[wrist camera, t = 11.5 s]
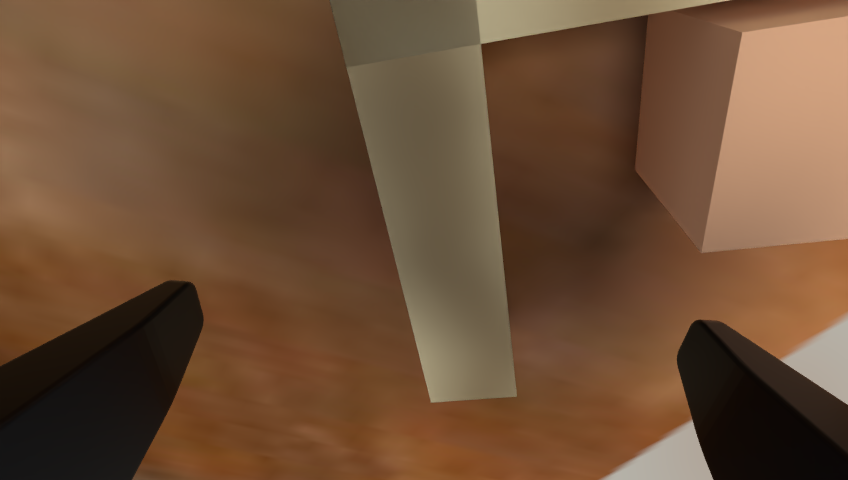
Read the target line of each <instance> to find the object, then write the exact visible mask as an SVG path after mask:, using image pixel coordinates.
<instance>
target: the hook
mask: <svg viewBox="0 0 848 480" xmlns="http://www.w3.org/2000/svg"><path fill="white" fill-rule="evenodd" d="M722 1H728V0H330V4H331V8H332V12H333V16H334V20H335V24H336V28H337V32H338V36H339V40H340V44H341V48H342V52H343V56H344V60H345V64H346V68H347V72H348V75H349V79H350V83H351V87H352V91H353V95H354V99H355V103H356V107H357V111H358V115H359V119H360V123H361V127H362V131H363V135H364V139H365V143H366V147H367V151H368V155H369V159H370V163H371V167H372V170H373V174H374V178H375V182H376V186H377V190H378V194H379V198H380V202H381V206H382V210H383V214H384V218H385V222H386V226H387V230H388V234H389V238H390V242H391V246H392V250H393V254H394V258H395V262H396V266H397V269H398V273H399V277H400V281H401V285H402V289H403V293H404V297H405V301H406V305H407V309H408V313H409V317H410V321H411V325H412V329H413V333H414V337H415V341H416V345H417V349H418V353H419V357H420V361H421V364H422V368H423V372H424V376H425V380H426V384H427V388H428V392H429V396H430V400H431V403H432V402H446V401H460V400H474V399H488V398H502V397H517V393H516V383H515V373H514V363H513V354H512V344H511V334H510V324H509V315H508V305H507V295H506V285H505V276H504V266H503V256H502V246H501V237H500V227H499V217H498V207H497V198H496V188H495V178H494V168H493V159H492V149H491V139H490V129H489V120H488V110H487V100H486V90H485V81H484V71H483V61H482V51H481V44H483V43H489V42H495V41H500V40H506V39H512V38H517V37H523V36H529V35H535V34H540V33H546V32H552V31H557V30H563V29H569V28H574V27H580V26H586V25H591V24H597V23H603V22H609V21H614V20H620V19H626V18H631V17H637V16H643V15H648V14H654V13H660V12H665V11H671V10H677V9H683V8H688V7H694V6H700V5H705V4H711V3H717V2H722Z"/></svg>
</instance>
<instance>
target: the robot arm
mask: <svg viewBox="0 0 848 480" xmlns="http://www.w3.org/2000/svg"><path fill="white" fill-rule="evenodd" d="M203 321H204V319H203V312H202V309H201V305H200V301H199V298H198V294H197V290H196V288H195V286H194V284H193V283H191V282H188V281H175V280H170V281H166V282H164V283H162V284H160V285H158V286H156V287H154V288H152V289H150V290H148V291H147V292H145V293H143V294H141V295H139V296H137V297H135V298H133V299H131V300H129V301H127V302H125V303H123V304H121V305H119V306H117V307H115V308H113V309H111V310H109V311H107V312H105V313H103V314H101V315H100V316H98V317H96V318H94V319H92V320H90V321H88V322H86V323H84V324H82V325H80V326H78V327H76V328H74V329H72V330H70V331H68V332H66V333H64V334H62V335H60V336H58V337H56V338H55V339H53V340H51V341H49V342H47V343H45V344H43V345H41V346H39V347H37V348H35V349H33V350H31V351H29V352H27V353H25V354H23V355H21V356H19V357H17V358H15V359H13V360H11V361H10V362H8V363H6V364H4V365H2V366H0V480H132V479H133V477H134V475H135V473H136V471H137V469H138V467H139V465H140V464H141V462H142V460H143V458H144V456H145V454H146V452H147V450H148V448H149V447H150V445H151V443H152V441H153V439H154V437H155V435H156V433H157V431H158V430H159V428H160V426H161V424H162V422H163V420H164V418H165V416H166V414H167V412H168V410H169V408H170V406H171V404H172V402H173V400H174V398H175V395H176V393H177V391H178V388H179V386H180V383H181V381H182V378H183V376H184V373H185V371H186V368H187V366H188V363H189V361H190V358H191V356H192V353H193V351H194V348H195V345H196V343H197V340H198V338H199V335H200V333H201V330H202V327H203ZM677 365H678V369H679V373H680V376H681V380H682V383H683V387H684V391H685V394H686V398H687V401H688V405H689V409H690V412H691V416H692V419H693V423H694V427H695V430H696V434H697V437H698V439H699V443H700V446H701V448H702V452H703V454H704V457H705V460H706V462H707V465H708V467H709V470H710V472H711V475H712V477H713V479H714V480H848V405H847V404H846V403H844V402H842V401H841V400H839V399H838V398H836V397H835V396H833V395H832V394H830V393H829V392H827V391H826V390H824V389H823V388H821V387H820V386H818V385H817V384H815V383H814V382H812V381H811V380H809V379H808V378H806V377H805V376H803V375H801V374H800V373H798V372H797V371H795V370H794V369H792V368H791V367H789V366H788V365H786V364H785V363H783V362H782V361H780V360H779V359H777V358H776V357H774V356H773V355H771V354H770V353H768V352H767V351H765V350H764V349H762V348H761V347H759V346H758V345H756V344H755V343H753V342H752V341H750V340H748V339H747V338H745V337H744V336H742V335H741V334H739V333H738V332H736V331H735V330H733V329H732V328H730V327H729V326H727V325H726V324H724V323H722V322H720V321H711V320H696V321H694V322H693V323H692V324H691V326H690V328H689V330H688V332H687V334H686V336H685V338H684V340H683V343H682V345H681V347H680V349H679V351H678V355H677Z"/></svg>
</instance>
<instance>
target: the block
mask: <svg viewBox="0 0 848 480" xmlns="http://www.w3.org/2000/svg"><path fill="white" fill-rule="evenodd" d="M635 171H636V172H637V173H638V174H639V176H640V177H641V178H642V179H643V181H644V182H645V183H646V184H647V186H648V187H649V188H650V189H651V191H652V192H653V193H654V194H655V196H656V197H657V198H658V199H659V201H660V202H661V203H662V204H663V206H664V207H665V208H666V209H667V211H668V212H669V213H670V214H671V216H672V217H673V218H674V219H675V221H676V222H677V223H678V224H679V226H680V227H681V228H682V229H683V231H684V232H685V233H686V234H687V236H688V237H689V238H690V239H691V241H692V242H693V243H694V244H695V246H696V247H697V248H698V249H699V251H700V252H701V253H705V252H716V251H726V250H736V249H747V248H757V247H767V246H778V245H788V244H798V243H809V242H819V241H829V240H840V239H848V0H728V1H722V2H717V3H711V4H705V5H700V6H694V7H688V8H683V9H677V10H671V11H665V12H660V13H654V14H648V21H647V33H646V45H645V56H644V68H643V80H642V92H641V104H640V116H639V128H638V139H637V151H636V163H635Z"/></svg>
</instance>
